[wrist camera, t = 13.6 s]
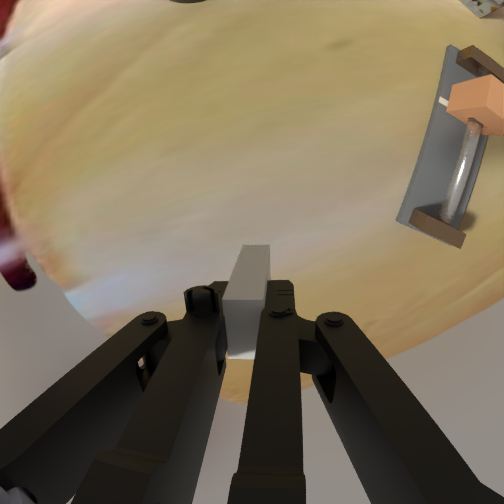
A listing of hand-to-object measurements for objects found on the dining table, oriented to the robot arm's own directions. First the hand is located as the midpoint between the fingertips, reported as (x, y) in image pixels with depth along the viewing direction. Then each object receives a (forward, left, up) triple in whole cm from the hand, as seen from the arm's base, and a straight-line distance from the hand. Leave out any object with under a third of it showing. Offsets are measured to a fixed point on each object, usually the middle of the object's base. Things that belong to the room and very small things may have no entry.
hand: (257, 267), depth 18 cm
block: (-15, +32, -27) cm, 45 cm away
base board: (-9, +30, -29) cm, 43 cm away
